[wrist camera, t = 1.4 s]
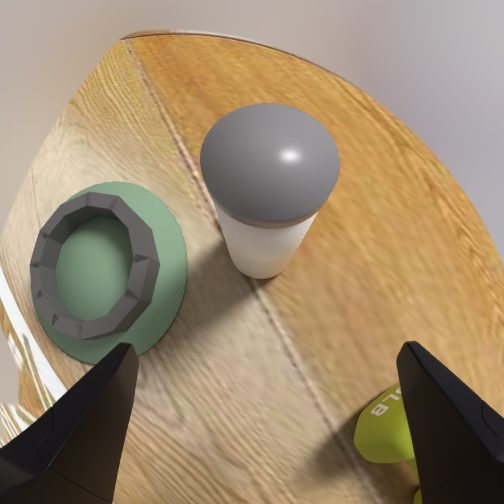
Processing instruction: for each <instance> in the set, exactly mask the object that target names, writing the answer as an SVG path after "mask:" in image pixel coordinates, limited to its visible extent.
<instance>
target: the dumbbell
mask: <svg viewBox="0 0 504 504" xmlns="http://www.w3.org/2000/svg"><path fill="white" fill-rule="evenodd" d="M354 444H355V446H356V448H357V450H358V451H359V453H360V454H361V455H362V456H363V457H364V458H365V459H366V460H368V461H370V462H374V463H397V462H404V461H407V463H408V465H409V467H410V469H411V470H412V472H413V474H414V475H415V477H416V478H417V480H418V481H419V477H418V471H417V466H416V460H415V455H414V450H413V445H412V440H411V436H410V431H409V427H408V422H407V418H406V414H405V410H404V406H403V401H402V396H401V389H400V382H399V383H397V384H395V385H393V386H392V387H390V388H389V389H388V390H386V391H385V392H384V393H383V394H382V395H380V396H379V397H378V398H377V399H375V400H374V401H373V402H372V403H371V404H369V405H368V406H367V407H366V408H365V409H364V410H363V411H362V413H361V414H360V416H359V418H358V421H357V425H356V429H355V434H354ZM413 504H422V498H421V490H420V489H419V490H418V491H417V492H416V494H415V496H414V503H413Z"/></svg>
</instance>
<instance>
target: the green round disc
mask: <svg viewBox="0 0 504 504" xmlns="http://www.w3.org/2000/svg"><path fill="white" fill-rule="evenodd" d="M187 266H188V264H187V251H186V246H185V242H184V238H183V235H182V232H181V229H180V227H179V225H178V223H177V221H176V219H175V217H174V216H173V214H172V213H171V211H170V210H169V208H168V207H167V206H166V205H165V204H164V203H163V201H162V200H161V199H160V198H158V197H157V196H156V195H154V194H153V193H152V192H150V191H148V190H147V189H145V188H143V187H140V186H138V185H135V184H131V183H126V182H105V183H101V184H96V185H93V186H91V187H88V188H86V189H84V190H82V191H80V192H78V193H77V194H75V195H74V196H72V197H71V198H69V199H68V200H67V201H66V202H65V203H63V204H61V205H60V206H59V208H58V209H57V210H56V211H55V212H54V214H53V215H52V216H51V217H50V218H49V220H48V221H47V222H46V223H45V225H44V226H43V227H42V229H41V230H40V231H39V234H38V238H37V241H36V244H35V248H34V251H33V255H32V258H31V262H30V274H31V290H32V297H33V302H34V306H35V310H36V313H37V315H38V318H39V320H40V322H41V324H42V326H43V328H44V330H45V331H46V333H47V334H48V336H49V337H50V338H51V339H52V341H53V342H54V343H55V344H56V345H57V346H58V347H59V348H60V349H62V350H63V351H64V352H66V353H67V354H68V355H70V356H72V357H74V358H76V359H78V360H80V361H83V362H86V363H91V364H97V363H98V362H99V361H100V360H101V359H102V358H103V357H104V356H105V355H107V354H108V353H109V352H110V351H111V350H112V349H113V348H114V347H115V346H116V345H117V344H119V343H120V342H126V343H131V344H132V345H133V346H134V349H135V351H136V354H137V356H139V355H141V354H143V353H144V352H145V351H147V350H148V349H150V348H151V347H152V346H153V345H154V344H155V343H156V342H157V341H158V340H159V339H160V338H161V337H162V336H163V335H164V333H165V332H166V331H167V330H168V328H169V327H170V325H171V323H172V322H173V320H174V318H175V317H176V314H177V312H178V310H179V307H180V305H181V302H182V299H183V295H184V292H185V286H186V281H187Z"/></svg>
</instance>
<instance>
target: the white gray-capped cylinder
mask: <svg viewBox="0 0 504 504" xmlns="http://www.w3.org/2000/svg"><path fill="white" fill-rule="evenodd" d="M200 165H201V170H202V174H203V178H204V181H205V184H206V187H207V189H208V192H209V194H210V196H211V198H212V199H213V202H214V205H215V208H216V211H217V215H218V218H219V221H220V225H221V228H222V231H223V234H224V238H225V241H226V244H227V247H228V251H229V254H230V257H231V260H232V262H233V263H234V265H235V266H236V268H237V269H238V270H239V271H240V272H242V273H243V274H245V275H247V276H249V277H252V278H256V279H267V278H271V277H274V276H276V275H278V274H280V273H281V272H282V271H284V269H285V268H286V267H287V266H288V265H289V263H290V261H291V259H292V258H293V256H294V254H295V252H296V250H297V249H298V247H299V245H300V243H301V241H302V240H303V238H304V236H305V234H306V232H307V231H308V229H309V227H310V225H311V223H312V221H313V220H314V218H315V216H316V214H317V212H318V211H319V210H320V209H321V208H322V206H323V205H324V204H325V202H326V201H327V199H328V197H329V196H330V194H331V192H332V190H333V188H334V186H335V184H336V182H337V179H338V176H339V170H340V158H339V152H338V149H337V146H336V144H335V142H334V140H333V138H332V136H331V135H330V133H329V132H328V131H327V130H326V128H325V127H324V126H323V125H322V124H321V123H320V122H319V121H317V120H316V119H315V118H313V117H312V116H310V115H309V114H307V113H305V112H303V111H301V110H299V109H296V108H293V107H290V106H286V105H281V104H273V103H262V104H254V105H248V106H245V107H242V108H239V109H237V110H234V111H232V112H230V113H229V114H227V115H225V116H224V117H222V118H221V119H220V120H219V121H218V122H217V123H216V124H214V126H213V127H212V128H211V129H210V131H209V132H208V134H207V135H206V137H205V140H204V142H203V145H202V148H201V154H200Z"/></svg>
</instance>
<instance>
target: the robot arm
mask: <svg viewBox="0 0 504 504" xmlns="http://www.w3.org/2000/svg"><path fill="white" fill-rule="evenodd" d="M396 364H397V370H398V376H399V382H400V389H401V396H402V401H403V406H404V410H405V414H406V418H407V422H408V427H409V431H410V436H411V440H412V445H413V450H414V455H415V460H416V466H417V471H418V477H419V484H420V490H421V498H422V504H504V418H503V417H502V416H501V415H499V414H498V413H497V412H496V411H495V410H494V409H492V408H491V407H490V406H489V405H488V404H487V403H486V402H485V401H484V400H482V399H481V398H480V397H479V396H478V395H477V394H476V393H475V392H474V391H473V390H471V389H470V388H469V387H468V386H467V385H466V384H465V383H464V382H463V381H461V380H460V379H459V378H458V377H457V376H456V375H455V374H454V373H452V372H451V371H450V370H449V369H448V368H447V367H446V366H445V365H443V364H442V363H441V362H440V361H439V360H438V359H437V358H435V357H434V356H433V355H432V354H431V353H430V352H428V351H427V350H426V349H425V348H424V347H423V346H421V345H420V344H419V343H418V342H416V341H408V342H405V343H404V344H403V346H402V348H401V350H400V352H399V354H398V356H397V360H396ZM138 368H139V359H138V356H137V354H136V351H135V349H134V346H133V345H132V344H131V343H126V342H120V343H119V344H117V345H116V346H115V347H114V348H113V349H112V350H111V351H110V352H109V353H108V354H107V355H105V356H104V357H103V358H102V359H101V360H100V361H99V362H98V363H97V364H96V365H95V366H94V367H93V368H92V369H90V370H89V371H88V372H87V373H86V374H85V375H84V376H83V377H82V378H81V379H80V380H79V381H78V382H77V383H76V384H74V385H73V386H72V387H71V388H70V389H69V390H68V391H67V392H66V393H65V394H64V395H63V396H62V397H61V398H60V399H59V400H58V401H57V402H56V403H55V404H53V406H52V407H50V408H49V409H48V410H47V411H46V412H45V413H44V414H43V415H42V416H41V417H40V418H39V419H37V420H36V421H35V422H34V423H33V424H32V425H30V426H29V427H28V428H27V429H25V430H24V431H23V432H22V433H20V434H19V435H18V436H16V437H15V438H14V439H13V440H11V441H10V442H9V443H7V444H6V445H5V446H3V447H2V448H0V504H112V501H113V496H114V490H115V485H116V479H117V474H118V469H119V464H120V459H121V455H122V450H123V445H124V441H125V437H126V432H127V428H128V424H129V420H130V416H131V412H132V407H133V402H134V396H135V388H136V381H137V374H138Z"/></svg>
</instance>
